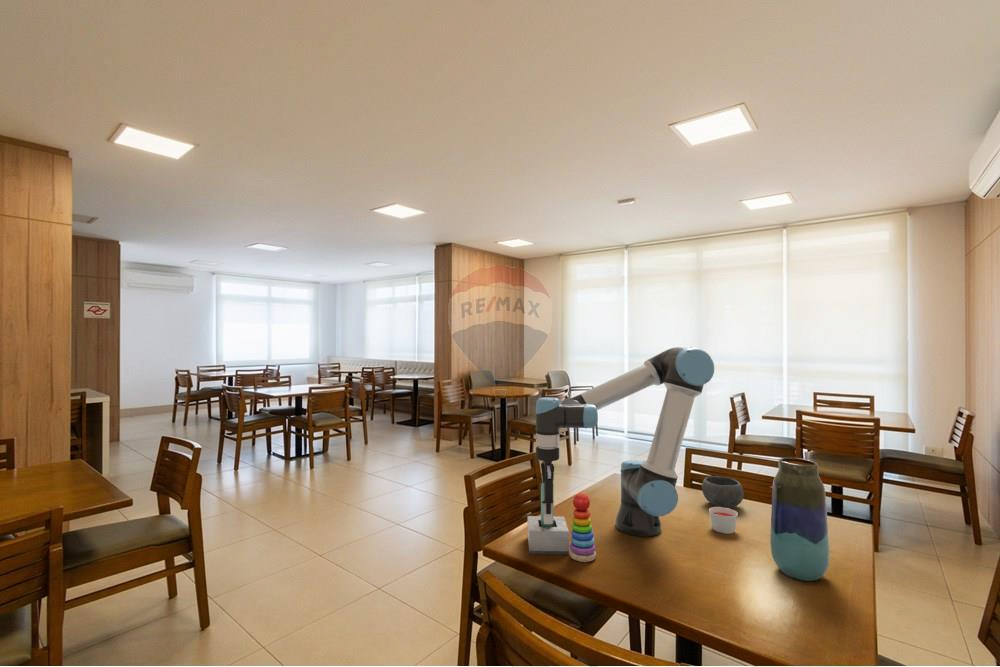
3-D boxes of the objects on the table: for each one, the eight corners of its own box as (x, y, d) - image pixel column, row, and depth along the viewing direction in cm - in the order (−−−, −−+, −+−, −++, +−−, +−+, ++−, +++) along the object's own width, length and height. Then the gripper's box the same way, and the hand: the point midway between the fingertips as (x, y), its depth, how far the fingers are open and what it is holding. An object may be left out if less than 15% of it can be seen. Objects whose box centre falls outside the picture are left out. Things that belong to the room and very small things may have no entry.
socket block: (563, 537, 150) (563, 516, 151) (568, 554, 138) (568, 531, 139) (527, 537, 151) (527, 516, 151) (529, 554, 139) (529, 530, 139)
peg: (540, 526, 147) (540, 482, 147) (552, 526, 147) (552, 482, 147) (541, 531, 143) (541, 486, 143) (554, 531, 143) (554, 486, 143)
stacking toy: (597, 553, 139) (597, 491, 140) (594, 565, 132) (594, 499, 132) (571, 549, 142) (571, 488, 143) (567, 560, 134) (567, 496, 135)
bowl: (751, 512, 174) (751, 486, 174) (712, 512, 174) (712, 486, 174) (732, 499, 189) (732, 475, 189) (696, 499, 189) (695, 475, 189)
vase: (832, 592, 118) (830, 470, 119) (769, 577, 125) (768, 463, 126) (827, 570, 130) (826, 459, 130) (771, 557, 137) (770, 453, 138)
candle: (731, 537, 151) (731, 518, 151) (704, 529, 158) (704, 511, 158) (742, 530, 157) (742, 512, 157) (715, 522, 164) (715, 505, 164)
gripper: (534, 440, 154) (534, 510, 153) (537, 452, 137) (537, 531, 136) (556, 441, 154) (556, 511, 153) (562, 453, 137) (562, 531, 136)
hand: (547, 520), depth 145 cm, fingers closed on peg, 4 cm apart
